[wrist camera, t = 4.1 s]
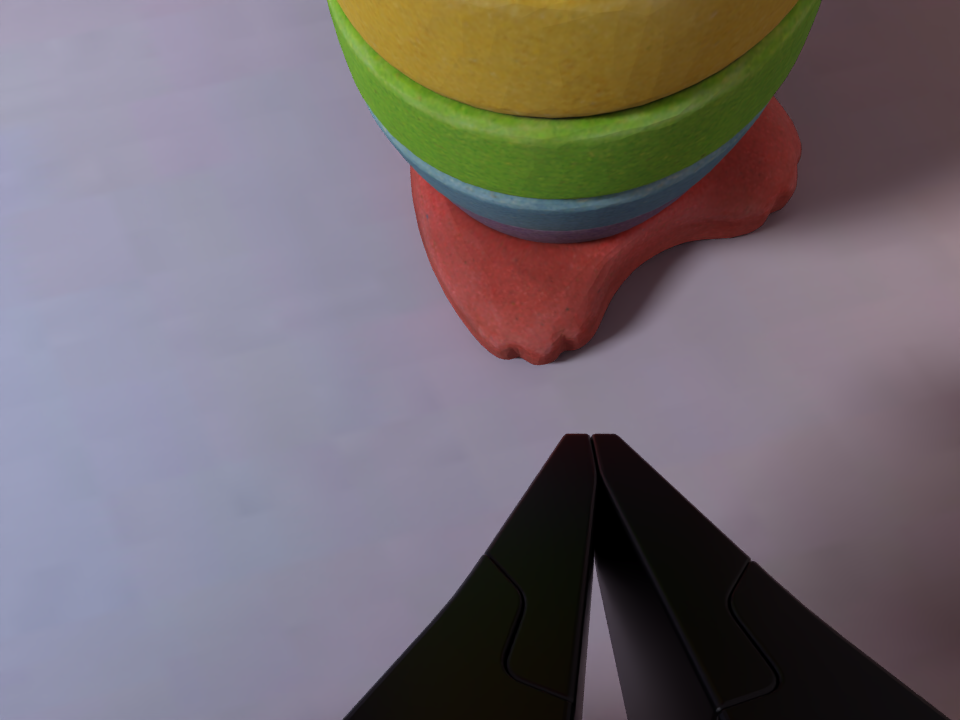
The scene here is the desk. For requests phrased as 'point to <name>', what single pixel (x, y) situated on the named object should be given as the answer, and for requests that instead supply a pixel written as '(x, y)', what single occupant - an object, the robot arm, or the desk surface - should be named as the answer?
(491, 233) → the stacking bear
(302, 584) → the desk surface
